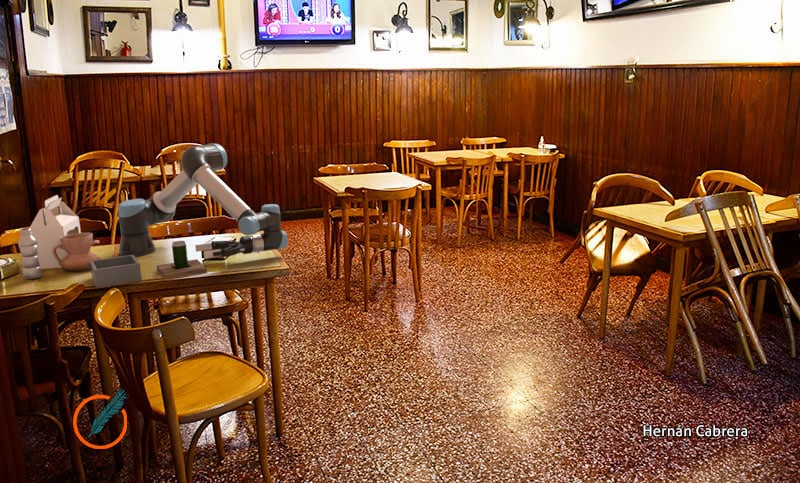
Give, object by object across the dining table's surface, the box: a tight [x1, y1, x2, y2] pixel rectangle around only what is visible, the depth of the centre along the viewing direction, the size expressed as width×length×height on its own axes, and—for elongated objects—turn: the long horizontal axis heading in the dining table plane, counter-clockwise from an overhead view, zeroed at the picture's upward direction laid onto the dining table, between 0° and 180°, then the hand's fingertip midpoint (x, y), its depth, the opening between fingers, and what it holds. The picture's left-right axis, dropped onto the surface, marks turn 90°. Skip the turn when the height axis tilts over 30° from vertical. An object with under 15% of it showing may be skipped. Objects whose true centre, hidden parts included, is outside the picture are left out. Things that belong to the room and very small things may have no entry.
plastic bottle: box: [17, 227, 43, 280], centre depth 258 cm, size 6×7×20 cm
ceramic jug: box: [52, 232, 102, 272], centre depth 272 cm, size 18×14×14 cm
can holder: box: [156, 258, 208, 280], centre depth 265 cm, size 16×16×2 cm
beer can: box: [171, 240, 189, 270], centre depth 264 cm, size 5×5×12 cm
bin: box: [90, 255, 143, 289], centre depth 256 cm, size 16×16×7 cm
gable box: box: [29, 194, 82, 270], centre depth 282 cm, size 22×13×28 cm, turn 10°
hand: (199, 251), depth 267 cm, fingers open, 13 cm apart
